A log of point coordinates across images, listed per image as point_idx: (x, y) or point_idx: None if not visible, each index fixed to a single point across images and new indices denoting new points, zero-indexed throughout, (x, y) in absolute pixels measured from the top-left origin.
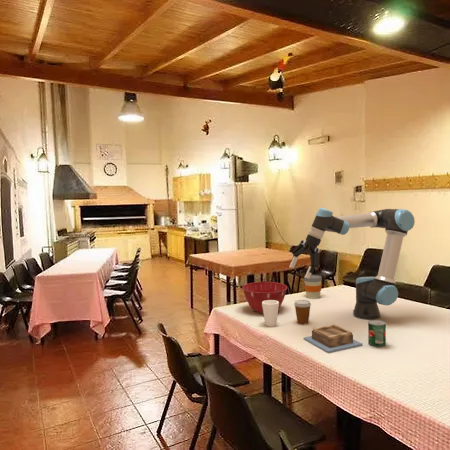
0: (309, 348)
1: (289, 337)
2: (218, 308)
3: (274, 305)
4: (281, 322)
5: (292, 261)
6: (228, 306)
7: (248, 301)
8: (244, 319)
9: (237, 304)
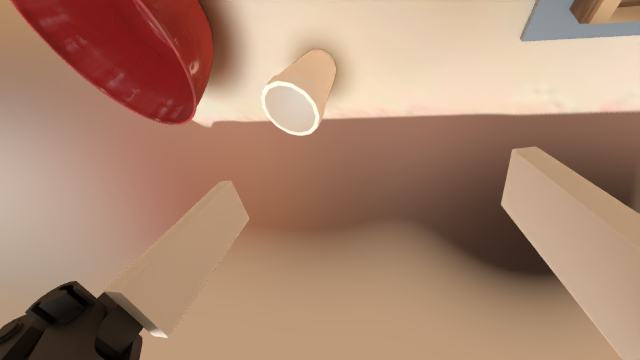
0: (618, 68)
1: (457, 74)
2: None
3: (320, 109)
4: (305, 20)
5: (213, 270)
6: None
7: (189, 91)
8: None
9: None
